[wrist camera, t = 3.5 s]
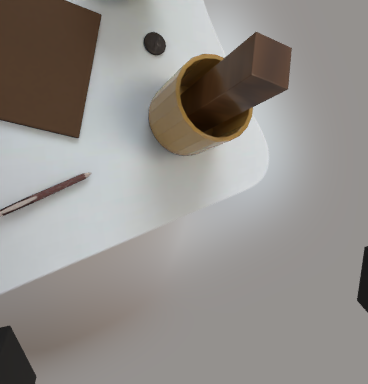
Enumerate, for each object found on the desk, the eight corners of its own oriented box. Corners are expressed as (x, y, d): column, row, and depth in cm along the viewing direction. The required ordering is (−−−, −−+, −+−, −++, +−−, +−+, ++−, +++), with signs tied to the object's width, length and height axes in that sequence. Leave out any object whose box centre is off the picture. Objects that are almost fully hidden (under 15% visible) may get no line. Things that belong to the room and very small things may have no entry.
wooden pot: (143, 146, 43) (170, 128, 34) (154, 74, 44) (182, 41, 36) (210, 162, 47) (248, 150, 39) (218, 96, 48) (256, 71, 40)
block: (169, 128, 44) (251, 74, 28) (173, 100, 44) (256, 31, 28) (195, 136, 45) (288, 89, 29) (199, 108, 46) (292, 47, 30)
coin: (168, 40, 45) (148, 28, 44) (168, 40, 45) (149, 27, 44) (160, 59, 45) (141, 47, 43) (161, 58, 44) (141, 46, 43)
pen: (-5, 220, 35) (-7, 220, 34) (-9, 213, 35) (-10, 213, 34) (92, 176, 40) (94, 175, 39) (89, 170, 39) (91, 168, 39)
